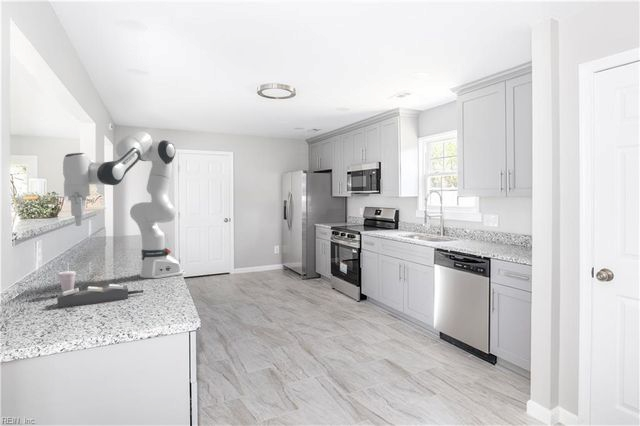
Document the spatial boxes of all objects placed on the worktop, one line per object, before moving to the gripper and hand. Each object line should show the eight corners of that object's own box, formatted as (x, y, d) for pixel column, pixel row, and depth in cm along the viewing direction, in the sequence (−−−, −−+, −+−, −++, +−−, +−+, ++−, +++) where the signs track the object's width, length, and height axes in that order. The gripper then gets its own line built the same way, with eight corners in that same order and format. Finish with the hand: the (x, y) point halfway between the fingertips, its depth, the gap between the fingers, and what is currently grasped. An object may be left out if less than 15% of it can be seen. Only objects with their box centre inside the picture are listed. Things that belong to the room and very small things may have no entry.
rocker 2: (101, 289, 151) (102, 287, 151) (101, 291, 148) (102, 288, 148) (87, 288, 148) (88, 285, 148) (87, 290, 146) (88, 287, 146)
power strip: (142, 292, 162) (142, 283, 162) (144, 296, 156) (143, 286, 156) (59, 303, 146) (59, 292, 146) (57, 307, 140) (57, 297, 140)
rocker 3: (122, 287, 155) (122, 284, 155) (122, 289, 152) (123, 286, 152) (108, 286, 152) (109, 283, 152) (108, 288, 149) (109, 285, 149)
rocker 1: (78, 289, 147) (78, 287, 147) (78, 291, 144) (77, 289, 144) (64, 294, 144) (63, 291, 144) (63, 296, 142) (62, 293, 141)
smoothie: (67, 296, 155) (66, 264, 154) (55, 296, 157) (53, 263, 156) (80, 292, 162) (79, 261, 161) (68, 292, 163) (66, 260, 162)
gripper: (85, 192, 144) (86, 227, 145) (86, 192, 161) (88, 223, 162) (65, 192, 141) (67, 228, 142) (69, 192, 158) (70, 224, 159)
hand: (78, 225), depth 152 cm, fingers closed
